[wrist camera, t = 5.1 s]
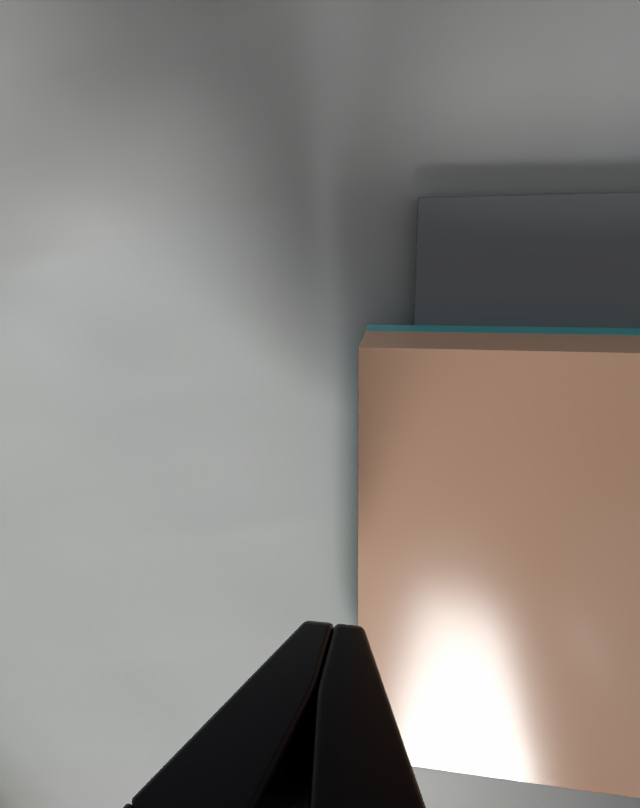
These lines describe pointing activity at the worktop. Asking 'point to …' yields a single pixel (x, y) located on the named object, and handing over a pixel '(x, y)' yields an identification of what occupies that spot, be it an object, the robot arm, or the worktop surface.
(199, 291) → the worktop surface
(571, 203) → the mat
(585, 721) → the tile
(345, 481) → the worktop surface
